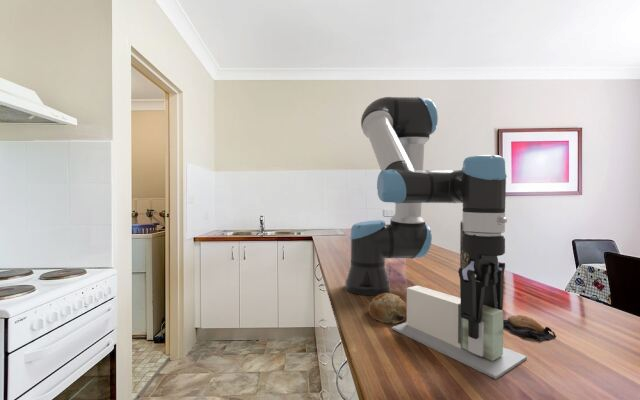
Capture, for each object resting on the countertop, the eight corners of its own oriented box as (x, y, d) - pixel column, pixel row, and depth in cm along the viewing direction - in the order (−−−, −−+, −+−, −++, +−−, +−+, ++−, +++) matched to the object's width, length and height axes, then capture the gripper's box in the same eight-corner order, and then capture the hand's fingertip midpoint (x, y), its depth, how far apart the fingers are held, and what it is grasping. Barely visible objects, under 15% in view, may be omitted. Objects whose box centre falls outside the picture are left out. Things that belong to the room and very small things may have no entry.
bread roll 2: (492, 327, 75) (492, 313, 75) (513, 321, 79) (513, 307, 79) (538, 346, 66) (538, 329, 65) (560, 338, 69) (560, 322, 69)
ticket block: (392, 329, 73) (392, 289, 73) (424, 318, 79) (424, 281, 79) (496, 379, 53) (496, 324, 53) (526, 358, 59) (527, 310, 59)
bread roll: (380, 338, 76) (389, 314, 72) (358, 309, 84) (366, 286, 81) (409, 330, 80) (419, 307, 77) (386, 303, 88) (395, 281, 85)
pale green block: (462, 347, 62) (462, 305, 62) (473, 342, 64) (473, 301, 64) (492, 361, 57) (492, 315, 57) (502, 354, 59) (503, 310, 59)
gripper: (478, 238, 53) (477, 372, 53) (523, 232, 62) (522, 345, 62) (440, 234, 59) (439, 354, 59) (486, 229, 68) (485, 332, 69)
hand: (482, 349), depth 61 cm, fingers closed on pale green block, 4 cm apart
